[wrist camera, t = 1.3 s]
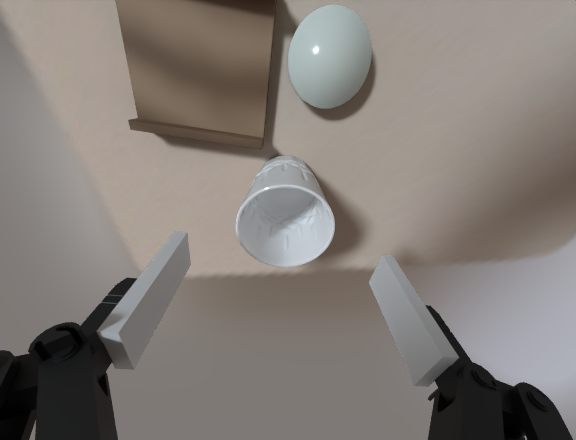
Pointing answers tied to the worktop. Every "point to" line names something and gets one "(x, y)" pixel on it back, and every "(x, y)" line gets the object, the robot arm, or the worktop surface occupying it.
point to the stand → (200, 67)
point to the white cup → (285, 215)
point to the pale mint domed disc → (329, 56)
